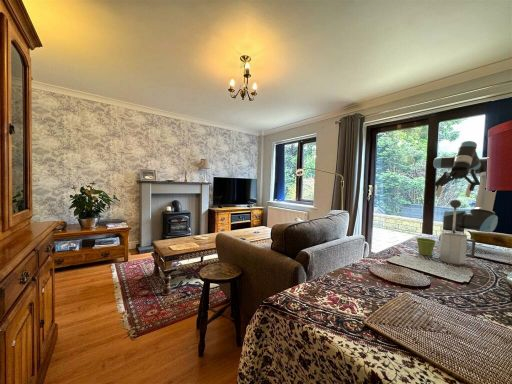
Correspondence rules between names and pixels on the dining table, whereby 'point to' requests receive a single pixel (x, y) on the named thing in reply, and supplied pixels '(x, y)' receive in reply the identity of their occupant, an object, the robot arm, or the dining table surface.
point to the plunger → (455, 205)
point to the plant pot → (425, 246)
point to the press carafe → (455, 247)
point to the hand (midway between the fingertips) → (451, 195)
